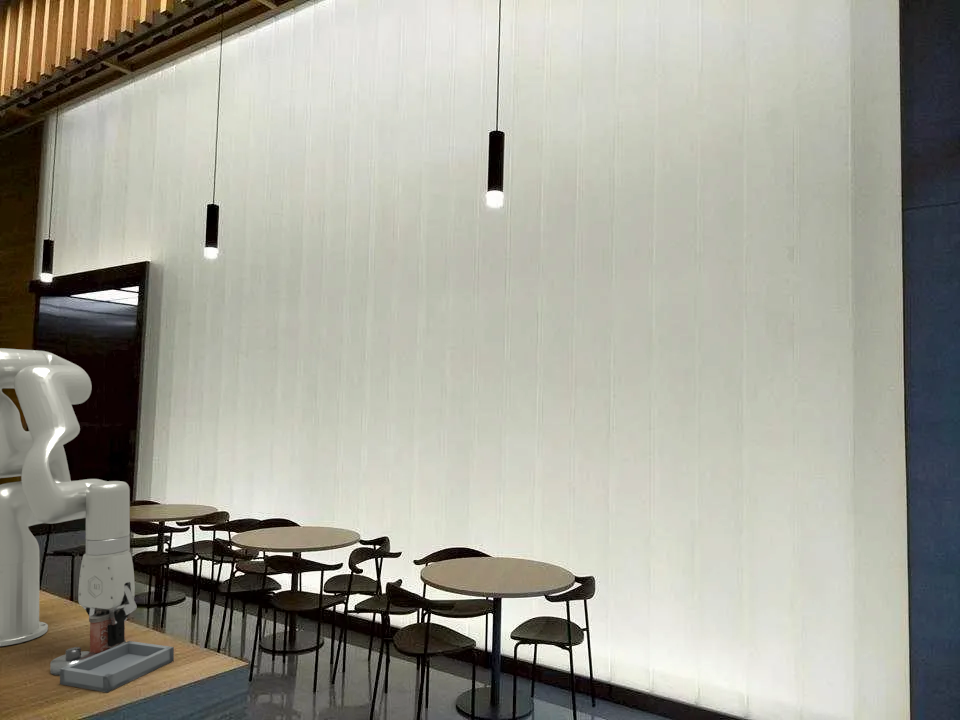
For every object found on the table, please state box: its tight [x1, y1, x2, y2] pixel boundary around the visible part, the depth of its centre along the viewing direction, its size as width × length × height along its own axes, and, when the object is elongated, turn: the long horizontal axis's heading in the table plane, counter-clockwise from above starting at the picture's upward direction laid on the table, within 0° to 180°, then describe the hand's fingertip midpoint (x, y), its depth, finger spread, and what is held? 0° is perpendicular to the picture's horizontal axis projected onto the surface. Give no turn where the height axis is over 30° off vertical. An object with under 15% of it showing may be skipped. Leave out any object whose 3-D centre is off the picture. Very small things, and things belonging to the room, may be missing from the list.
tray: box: [59, 640, 175, 693], centre depth 121 cm, size 11×14×2 cm
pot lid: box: [49, 646, 95, 677], centre depth 124 cm, size 7×7×3 cm
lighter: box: [88, 608, 127, 655], centre depth 132 cm, size 8×3×10 cm, turn 168°
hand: (108, 641), depth 131 cm, fingers closed on lighter, 3 cm apart
